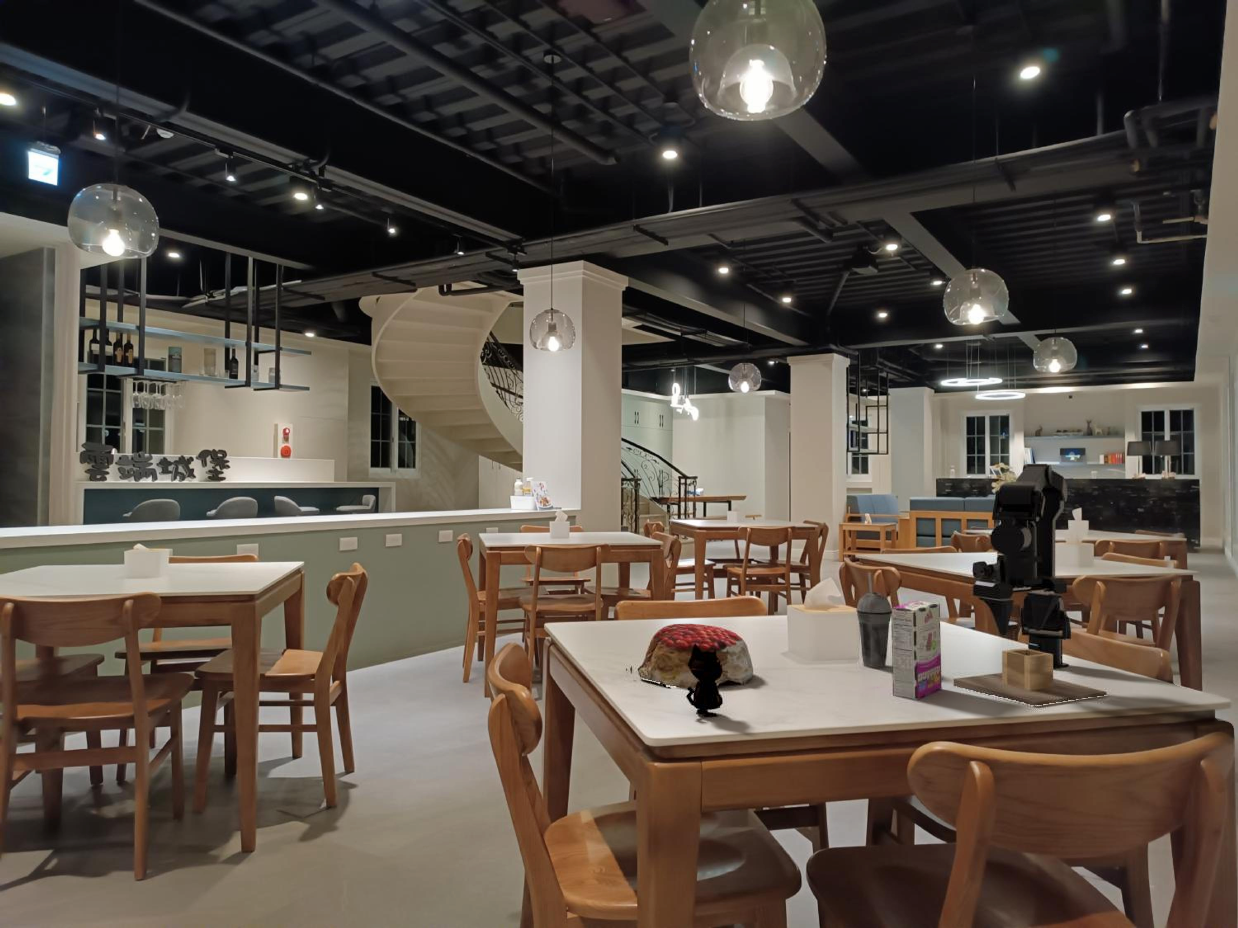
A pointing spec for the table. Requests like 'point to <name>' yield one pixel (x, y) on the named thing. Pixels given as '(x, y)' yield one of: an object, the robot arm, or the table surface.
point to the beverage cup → (874, 627)
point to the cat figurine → (705, 681)
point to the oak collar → (1027, 669)
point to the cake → (675, 651)
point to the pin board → (1057, 693)
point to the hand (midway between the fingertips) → (1020, 632)
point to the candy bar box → (916, 649)
